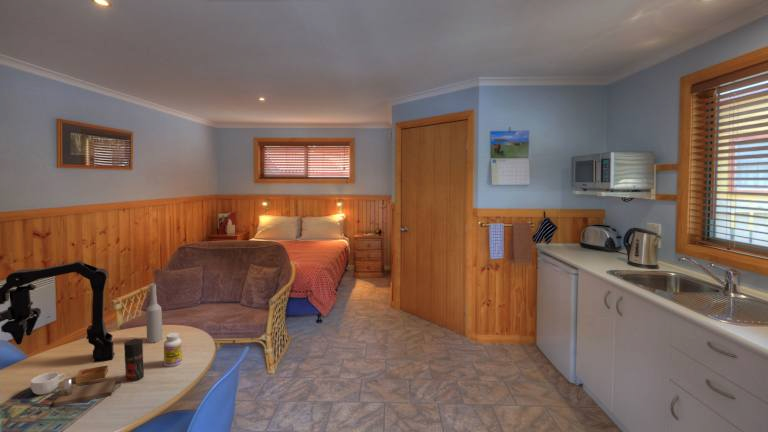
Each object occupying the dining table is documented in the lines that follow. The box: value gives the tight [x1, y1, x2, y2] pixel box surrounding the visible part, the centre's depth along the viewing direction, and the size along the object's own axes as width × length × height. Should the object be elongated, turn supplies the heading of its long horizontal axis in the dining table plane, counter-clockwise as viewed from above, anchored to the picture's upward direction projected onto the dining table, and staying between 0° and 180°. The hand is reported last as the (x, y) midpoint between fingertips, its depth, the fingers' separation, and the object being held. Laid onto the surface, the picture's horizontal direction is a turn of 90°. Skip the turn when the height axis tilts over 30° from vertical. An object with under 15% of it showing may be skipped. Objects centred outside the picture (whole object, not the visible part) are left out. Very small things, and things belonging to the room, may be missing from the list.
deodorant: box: [123, 338, 145, 383], centre depth 144 cm, size 6×6×15 cm
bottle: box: [145, 283, 164, 344], centre depth 178 cm, size 7×7×28 cm
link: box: [75, 365, 109, 384], centre depth 145 cm, size 9×6×2 cm, turn 118°
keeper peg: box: [63, 377, 73, 396], centre depth 130 cm, size 2×2×6 cm
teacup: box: [29, 371, 66, 396], centre depth 135 cm, size 10×8×5 cm
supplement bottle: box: [163, 332, 183, 368], centre depth 157 cm, size 7×7×13 cm
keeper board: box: [53, 379, 117, 408], centre depth 133 cm, size 16×9×2 cm, turn 118°
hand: (24, 339), depth 146 cm, fingers open, 9 cm apart
